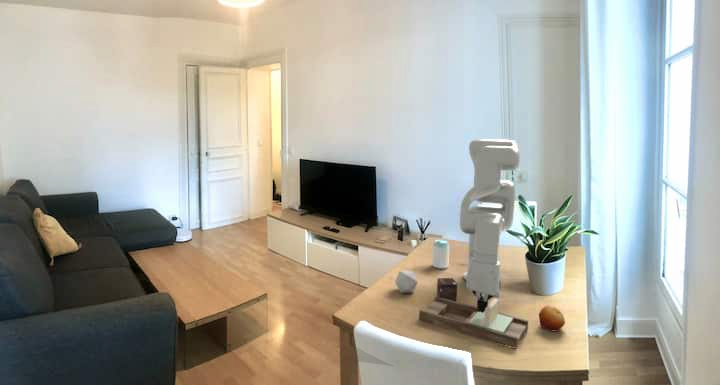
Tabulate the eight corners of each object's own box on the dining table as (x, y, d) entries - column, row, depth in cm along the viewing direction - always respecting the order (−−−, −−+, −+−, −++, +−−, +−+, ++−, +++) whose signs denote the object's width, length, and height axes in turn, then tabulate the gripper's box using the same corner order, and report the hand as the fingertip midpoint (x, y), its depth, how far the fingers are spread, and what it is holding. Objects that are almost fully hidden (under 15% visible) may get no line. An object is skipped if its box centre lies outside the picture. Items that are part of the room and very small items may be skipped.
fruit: (535, 314, 152) (550, 298, 148) (555, 331, 149) (571, 315, 145) (529, 323, 145) (544, 307, 142) (550, 341, 142) (566, 325, 139)
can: (443, 270, 196) (444, 244, 193) (429, 266, 200) (430, 241, 198) (451, 266, 201) (452, 240, 199) (437, 262, 205) (438, 237, 203)
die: (410, 299, 168) (423, 277, 169) (391, 287, 168) (404, 265, 170) (408, 297, 176) (420, 276, 177) (389, 286, 176) (402, 265, 178)
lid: (479, 311, 151) (481, 294, 149) (513, 320, 145) (514, 302, 143) (468, 324, 141) (469, 306, 140) (502, 334, 135) (504, 315, 134)
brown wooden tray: (436, 305, 161) (436, 296, 161) (527, 330, 144) (528, 320, 143) (418, 320, 150) (419, 310, 149) (515, 349, 132) (516, 338, 132)
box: (436, 296, 169) (437, 278, 168) (451, 295, 170) (452, 277, 168) (440, 303, 163) (441, 284, 162) (456, 302, 164) (457, 283, 162)
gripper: (458, 255, 142) (455, 309, 145) (505, 265, 133) (501, 321, 137) (467, 249, 148) (464, 301, 151) (512, 258, 140) (508, 312, 143)
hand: (482, 310), depth 144 cm, fingers closed
